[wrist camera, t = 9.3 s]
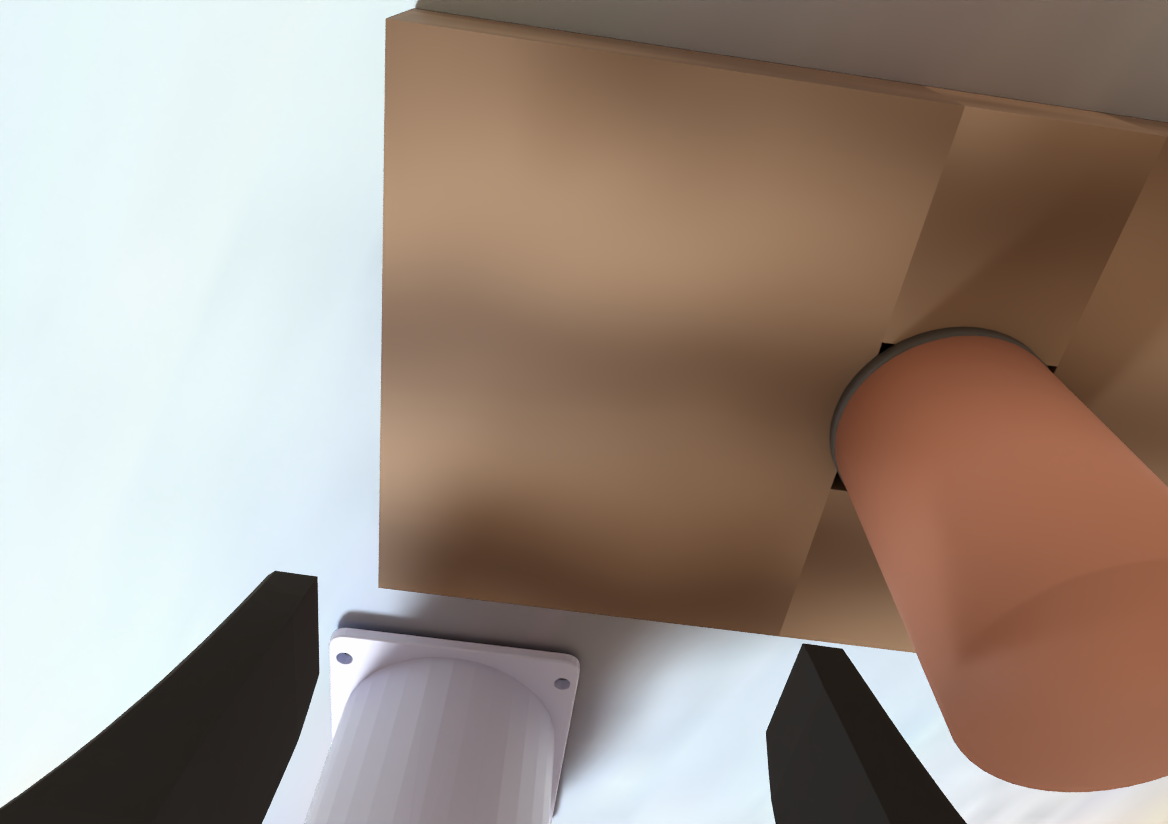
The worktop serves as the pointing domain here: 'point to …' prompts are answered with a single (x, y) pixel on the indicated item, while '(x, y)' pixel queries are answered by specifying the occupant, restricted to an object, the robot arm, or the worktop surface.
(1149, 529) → the peg
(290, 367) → the worktop surface
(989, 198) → the board
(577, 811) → the worktop surface
